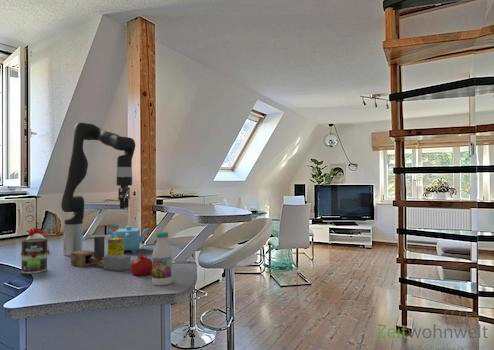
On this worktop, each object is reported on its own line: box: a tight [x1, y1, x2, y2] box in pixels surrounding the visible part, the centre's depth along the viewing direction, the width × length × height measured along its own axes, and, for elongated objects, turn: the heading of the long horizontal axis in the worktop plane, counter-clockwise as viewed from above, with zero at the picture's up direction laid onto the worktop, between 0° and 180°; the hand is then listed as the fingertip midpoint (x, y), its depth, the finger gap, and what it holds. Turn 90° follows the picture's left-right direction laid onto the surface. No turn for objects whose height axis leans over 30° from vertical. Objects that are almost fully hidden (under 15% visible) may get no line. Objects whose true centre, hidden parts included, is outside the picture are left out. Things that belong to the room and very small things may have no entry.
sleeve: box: [103, 254, 132, 272], centre depth 166 cm, size 11×6×6 cm, turn 63°
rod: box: [89, 235, 105, 266], centre depth 169 cm, size 21×3×13 cm, turn 63°
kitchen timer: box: [20, 227, 50, 255], centre depth 204 cm, size 14×14×15 cm
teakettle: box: [106, 225, 150, 253], centre depth 210 cm, size 19×19×15 cm
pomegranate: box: [129, 252, 152, 276], centre depth 156 cm, size 10×10×9 cm
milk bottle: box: [151, 231, 173, 286], centre depth 141 cm, size 8×8×20 cm
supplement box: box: [107, 238, 125, 256], centre depth 187 cm, size 6×6×11 cm
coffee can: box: [20, 238, 49, 275], centre depth 163 cm, size 10×10×14 cm
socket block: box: [70, 249, 95, 268], centre depth 176 cm, size 8×8×6 cm
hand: (124, 208), depth 180 cm, fingers open, 8 cm apart
